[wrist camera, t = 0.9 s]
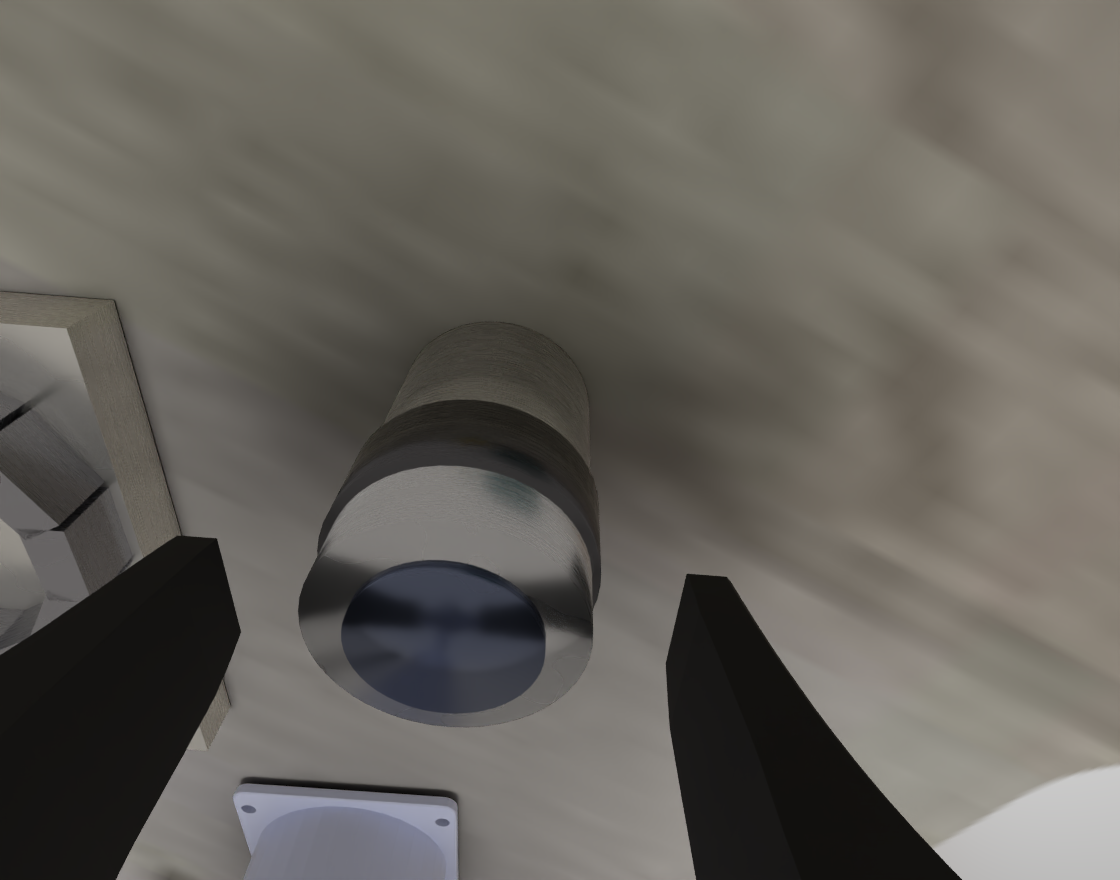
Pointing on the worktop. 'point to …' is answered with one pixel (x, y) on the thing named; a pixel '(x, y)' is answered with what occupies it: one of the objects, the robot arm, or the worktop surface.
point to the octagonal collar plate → (74, 466)
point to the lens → (464, 538)
